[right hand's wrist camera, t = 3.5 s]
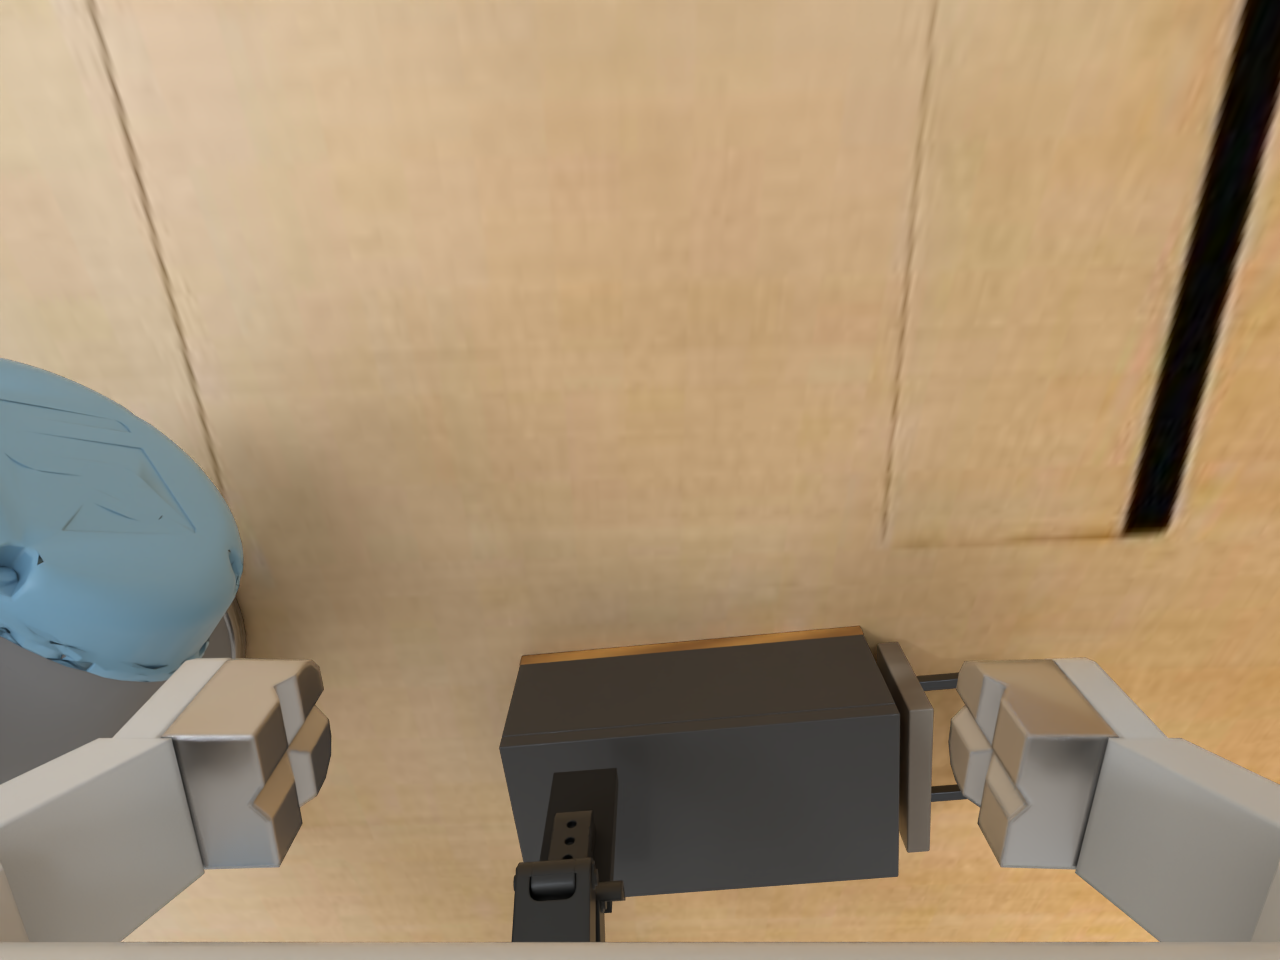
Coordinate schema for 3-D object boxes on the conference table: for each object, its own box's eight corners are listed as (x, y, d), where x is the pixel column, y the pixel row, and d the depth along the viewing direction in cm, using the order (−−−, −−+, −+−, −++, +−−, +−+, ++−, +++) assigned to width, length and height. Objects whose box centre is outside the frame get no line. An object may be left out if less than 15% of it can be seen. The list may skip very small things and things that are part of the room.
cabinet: (859, 625, 46) (900, 713, 38) (861, 771, 49) (898, 877, 42) (521, 655, 46) (498, 747, 39) (548, 796, 50) (531, 904, 43)
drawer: (1005, 631, 45) (1057, 698, 39) (997, 763, 48) (1044, 843, 42) (574, 669, 46) (563, 739, 40) (594, 796, 49) (588, 877, 43)
